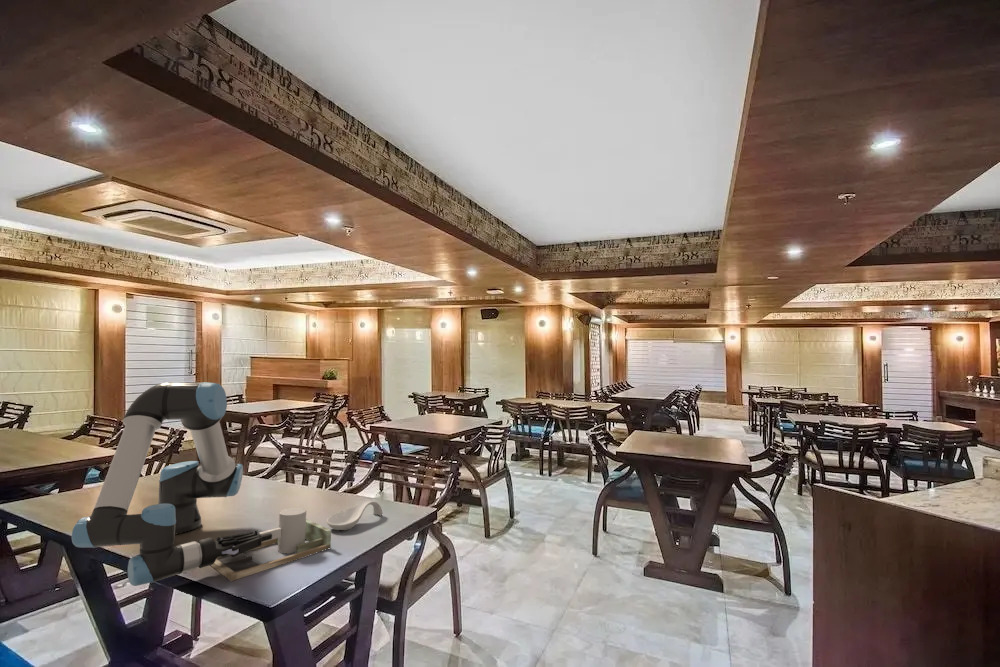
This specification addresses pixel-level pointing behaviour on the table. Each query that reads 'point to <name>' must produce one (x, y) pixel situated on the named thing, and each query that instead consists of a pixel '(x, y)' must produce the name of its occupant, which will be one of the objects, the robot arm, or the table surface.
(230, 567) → the wooden tray frame
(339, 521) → the spoon rest
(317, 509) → the table surface
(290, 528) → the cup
